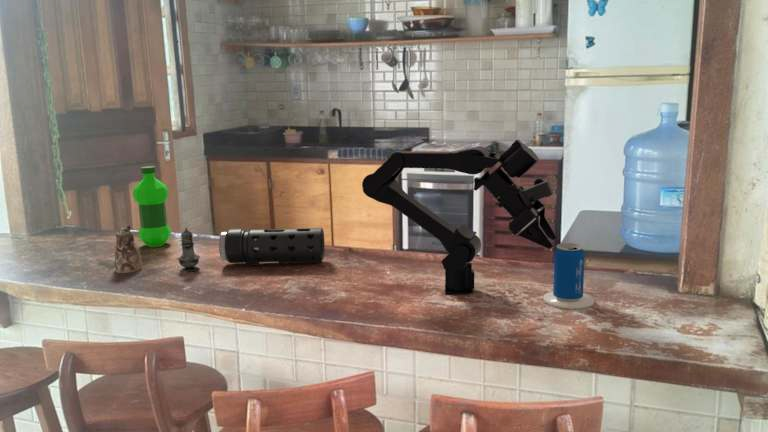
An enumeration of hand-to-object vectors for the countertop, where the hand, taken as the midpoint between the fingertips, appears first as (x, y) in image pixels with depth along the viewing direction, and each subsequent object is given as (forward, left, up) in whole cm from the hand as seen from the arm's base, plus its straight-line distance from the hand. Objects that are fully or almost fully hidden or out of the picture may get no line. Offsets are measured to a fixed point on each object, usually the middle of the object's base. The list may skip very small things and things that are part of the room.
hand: (553, 243), depth 147 cm
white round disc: (+3, -1, -13) cm, 14 cm away
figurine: (-112, +24, -13) cm, 115 cm away
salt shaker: (-94, +23, -13) cm, 98 cm away
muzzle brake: (-72, +29, -13) cm, 79 cm away
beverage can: (+3, -1, -13) cm, 13 cm away
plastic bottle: (-116, +51, -13) cm, 127 cm away
